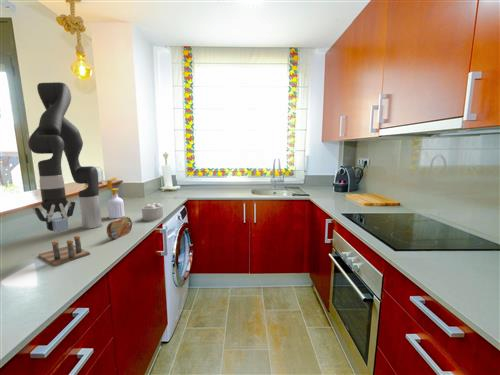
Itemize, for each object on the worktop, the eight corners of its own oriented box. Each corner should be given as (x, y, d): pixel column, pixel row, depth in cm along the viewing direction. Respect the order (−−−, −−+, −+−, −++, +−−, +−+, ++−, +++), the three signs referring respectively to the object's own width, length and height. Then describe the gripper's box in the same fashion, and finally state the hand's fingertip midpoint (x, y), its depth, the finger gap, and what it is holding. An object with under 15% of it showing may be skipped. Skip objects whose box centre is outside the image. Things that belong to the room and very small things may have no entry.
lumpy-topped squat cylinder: (140, 220, 151) (139, 205, 150) (153, 214, 163) (152, 201, 162) (155, 220, 149) (154, 206, 147) (167, 215, 161) (166, 202, 160)
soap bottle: (127, 216, 160) (124, 177, 156) (113, 219, 152) (109, 179, 148) (119, 214, 165) (116, 177, 161) (105, 217, 157) (101, 178, 153)
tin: (112, 241, 116) (110, 223, 115) (106, 240, 117) (104, 223, 116) (133, 230, 131) (131, 215, 129) (127, 230, 131) (126, 215, 130)
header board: (38, 256, 101) (36, 238, 99) (72, 246, 110) (70, 229, 109) (54, 265, 92) (51, 246, 91) (90, 254, 102) (87, 236, 100)
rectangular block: (56, 232, 97) (55, 221, 96) (47, 229, 102) (46, 218, 101) (68, 230, 100) (67, 219, 99) (59, 226, 105) (58, 216, 104)
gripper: (32, 190, 90) (39, 235, 93) (77, 185, 102) (82, 225, 105) (26, 188, 95) (32, 232, 97) (69, 184, 106) (74, 223, 109)
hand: (58, 228), depth 101 cm, fingers closed on rectangular block, 4 cm apart
